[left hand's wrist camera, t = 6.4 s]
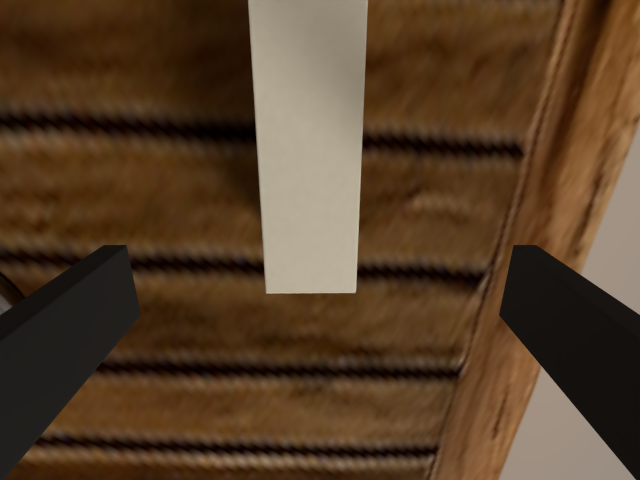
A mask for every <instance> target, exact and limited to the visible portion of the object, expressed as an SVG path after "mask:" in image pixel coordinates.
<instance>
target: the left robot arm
mask: <svg viewBox="0 0 640 480" xmlns="http://www.w3.org/2000/svg"><path fill="white" fill-rule="evenodd" d="M140 315H141V314H140V309H139V304H138V299H137V294H136V289H135V284H134V280H133V275H132V270H131V265H130V260H129V255H128V251H127V246H126V245H103V246H102V247H100V248H99V249H97V250H96V251H94V252H93V253H92V254H90V255H89V256H87V257H86V258H84V259H83V260H81V261H80V262H78V263H77V264H75V265H74V266H72V267H71V268H69V269H68V270H66V271H65V272H63V273H62V274H60V275H59V276H57V277H56V278H54V279H53V280H51V281H50V282H48V283H47V284H45V285H44V286H43V287H41V288H40V289H38V290H37V291H35V292H34V293H32V294H31V295H29V296H28V297H26V298H25V299H24V298H23V297H22V296H21V295H20V294H19V293H18V291H17V290H16V289H15V288H14V287H13V286H12V285H11V284H9V283H8V282H7V281H6V280H5V279H4V278H3V277H1V276H0V480H4V479H5V478H6V477H7V475H8V474H9V473H10V472H11V471H12V469H13V468H14V467H15V466H16V465H17V463H18V462H19V461H20V460H21V459H22V457H23V456H24V455H25V454H26V453H27V451H28V450H29V449H30V448H31V447H32V445H33V444H34V443H35V442H36V440H37V439H38V438H39V437H40V436H41V434H42V433H43V432H44V431H45V430H46V428H47V427H48V426H49V425H50V424H51V422H52V421H53V420H54V419H55V418H56V416H57V415H58V414H59V413H60V412H61V410H62V409H63V408H64V407H65V406H66V404H67V403H68V402H69V401H70V400H71V398H72V397H73V396H74V395H75V394H76V392H77V391H78V390H79V389H80V388H81V386H82V385H83V384H84V383H85V382H86V380H87V379H88V378H89V377H90V376H91V374H92V373H93V372H94V371H95V370H96V368H97V367H98V366H99V365H100V364H101V362H102V361H103V360H104V359H105V358H106V356H107V355H108V354H109V353H110V352H111V350H112V349H113V348H114V347H115V346H116V344H117V343H118V342H119V341H120V339H121V338H122V337H123V336H124V335H125V333H126V332H127V331H128V330H129V329H130V327H131V326H132V325H133V324H134V323H135V321H136V320H137V319H138V318H139V317H140ZM499 315H500V317H501V318H502V319H503V320H504V321H505V323H506V324H507V325H508V326H509V327H510V329H511V330H512V331H513V332H514V333H515V335H516V336H517V337H518V338H519V339H520V341H521V342H522V343H523V344H524V346H525V347H526V348H527V349H528V350H529V352H530V353H531V354H532V355H533V356H534V358H535V359H536V360H537V361H538V362H539V364H540V365H541V366H542V367H543V368H544V370H545V371H546V372H547V373H548V374H549V376H550V377H551V378H552V379H553V380H554V382H555V383H556V384H557V385H558V386H559V388H560V389H561V390H562V391H563V392H564V394H565V395H566V396H567V397H568V398H569V400H570V401H571V402H572V403H573V404H574V406H575V407H576V408H577V409H578V410H579V412H580V413H581V414H582V415H583V416H584V418H585V419H586V420H587V421H588V422H589V424H590V425H591V426H592V427H593V428H594V430H595V431H596V432H597V433H598V434H599V436H600V437H601V438H602V439H603V440H604V442H605V443H606V444H607V445H608V447H609V448H610V449H611V450H612V451H613V452H614V454H615V455H616V456H617V457H618V459H619V460H620V461H621V462H622V463H623V465H624V466H625V467H626V468H627V469H628V470H629V472H630V473H631V474H632V475H633V476H634V478H635V479H636V480H640V315H639V314H637V313H636V312H635V311H633V310H632V309H630V308H628V307H627V306H626V305H624V304H623V303H621V302H620V301H618V300H617V299H615V298H614V297H612V296H611V295H609V294H608V293H606V292H605V291H603V290H602V289H600V288H599V287H597V286H596V285H594V284H593V283H592V282H590V281H589V280H587V279H586V278H584V277H583V276H581V275H580V274H578V273H577V272H575V271H574V270H572V269H571V268H569V267H568V266H566V265H565V264H563V263H562V262H560V261H559V260H557V259H556V258H554V257H553V256H551V255H550V254H548V253H547V252H546V251H544V250H543V249H541V248H540V247H538V246H537V245H514V246H513V251H512V255H511V260H510V265H509V270H508V275H507V280H506V284H505V289H504V294H503V299H502V304H501V309H500V314H499Z"/></svg>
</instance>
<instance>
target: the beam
mask: <svg viewBox="0 0 640 480" xmlns="http://www.w3.org/2000/svg"><path fill="white" fill-rule="evenodd" d="M248 8H249V24H250V41H251V57H252V74H253V90H254V107H255V123H256V139H257V156H258V172H259V189H260V205H261V222H262V238H263V254H264V271H265V287H266V293H355V292H356V279H357V254H358V230H359V206H360V181H361V157H362V132H363V108H364V83H365V59H366V34H367V10H368V0H248Z"/></svg>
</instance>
